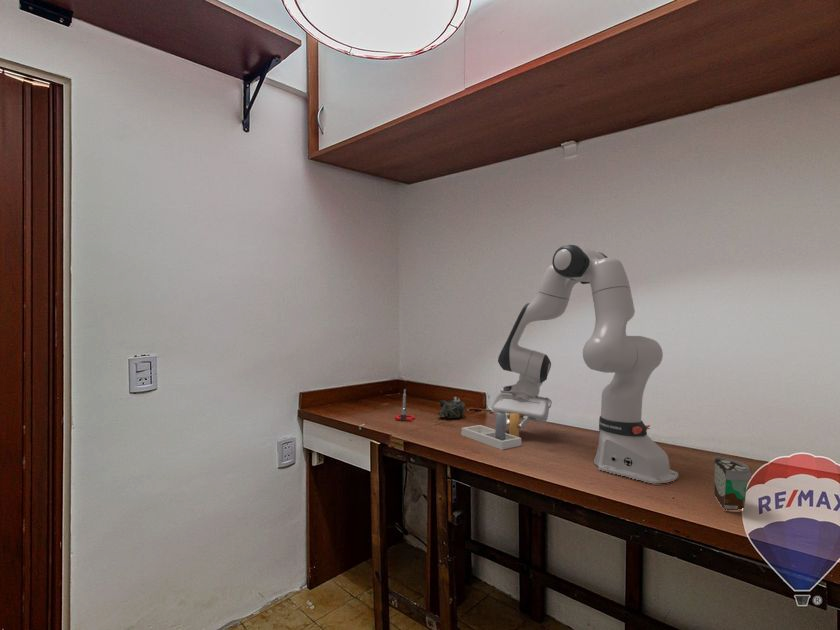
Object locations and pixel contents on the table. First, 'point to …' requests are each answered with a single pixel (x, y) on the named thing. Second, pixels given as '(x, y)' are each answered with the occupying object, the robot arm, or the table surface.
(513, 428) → the domed orange pawn
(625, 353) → the robot arm
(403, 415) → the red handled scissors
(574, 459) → the table surface
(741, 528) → the table surface
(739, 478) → the food container
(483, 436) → the white divided tray
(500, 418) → the grey rounded peg
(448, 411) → the mineral specimen
